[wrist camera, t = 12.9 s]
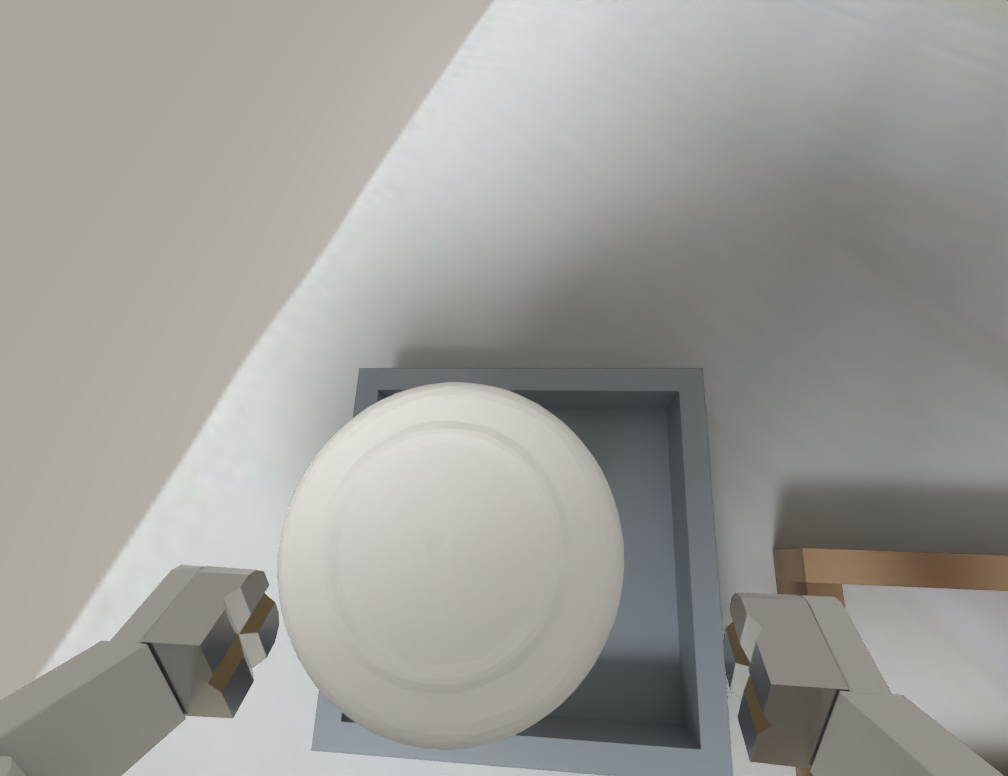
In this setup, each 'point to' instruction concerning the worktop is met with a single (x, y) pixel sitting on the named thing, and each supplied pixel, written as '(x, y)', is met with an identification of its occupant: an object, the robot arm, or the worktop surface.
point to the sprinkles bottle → (450, 565)
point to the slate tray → (645, 593)
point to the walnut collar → (883, 573)
